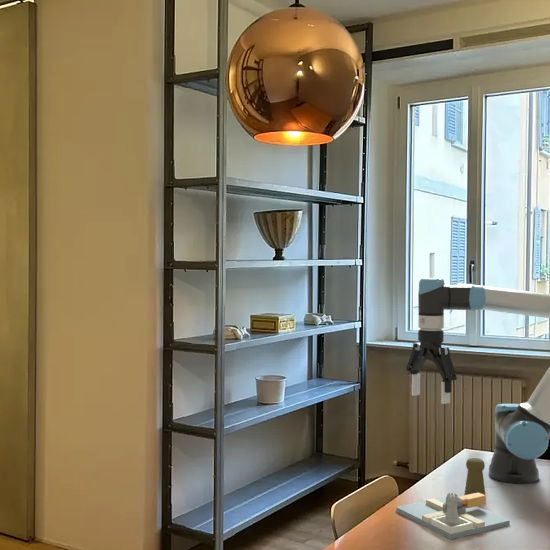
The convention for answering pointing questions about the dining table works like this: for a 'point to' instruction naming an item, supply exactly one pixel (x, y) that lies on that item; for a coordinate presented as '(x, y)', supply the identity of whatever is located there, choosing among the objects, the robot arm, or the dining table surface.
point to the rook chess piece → (452, 511)
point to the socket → (454, 529)
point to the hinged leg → (471, 500)
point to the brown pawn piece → (475, 476)
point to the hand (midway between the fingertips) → (430, 399)
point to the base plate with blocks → (476, 515)
